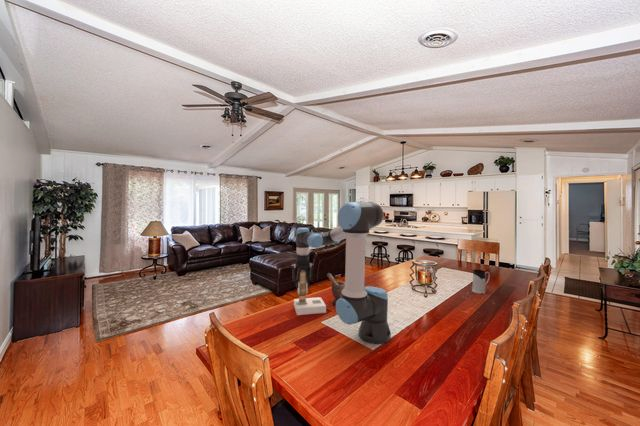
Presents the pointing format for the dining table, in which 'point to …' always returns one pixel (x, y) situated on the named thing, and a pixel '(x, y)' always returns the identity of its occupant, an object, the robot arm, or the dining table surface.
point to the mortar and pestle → (336, 288)
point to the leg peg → (302, 287)
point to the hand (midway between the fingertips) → (302, 292)
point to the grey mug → (479, 281)
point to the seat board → (310, 306)
